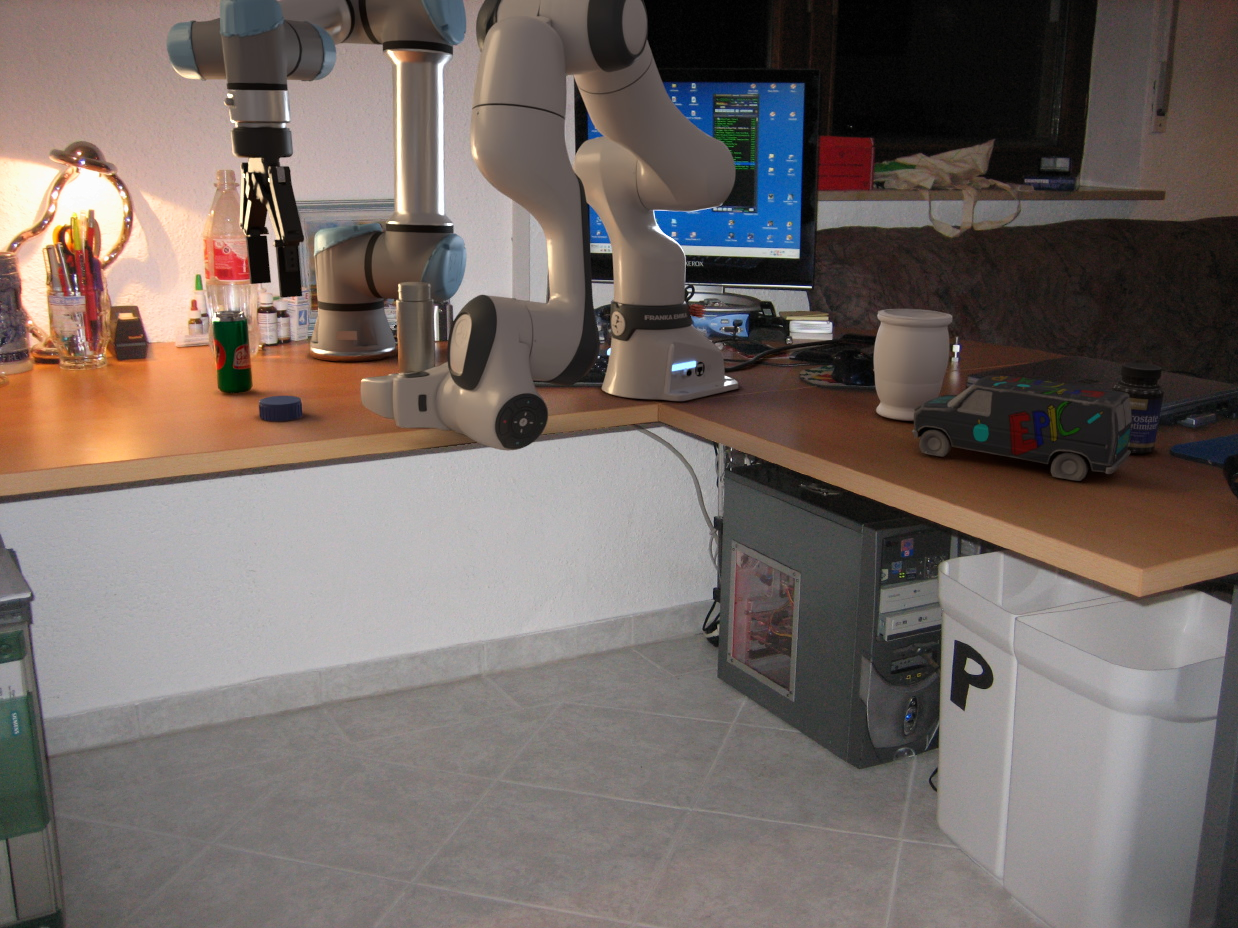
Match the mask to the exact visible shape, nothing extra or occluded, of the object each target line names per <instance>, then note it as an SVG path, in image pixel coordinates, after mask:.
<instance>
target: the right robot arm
mask: <svg viewBox="0 0 1238 928" xmlns="http://www.w3.org/2000/svg"><path fill="white" fill-rule="evenodd" d="M475 34H476V41H477V46H478V48H479V52H480V56H479V60H478V65H477V70H476V75H475V80H474V87H473V93H472V104H471V115H470V129H469V141H470V142H469V143H470V152H471V157H472V160H473V162H474V165H475V166H476V167H477V169H478V171H479V173H480V174H481V176H483V178H484V179H485V181H487V182H488V183H489V184H490V185H491V186H492V187H493V188H494V189H495V190H497V191H498V192H499V193H501V194H502V195H504V196H505V197H507V198H508V199H510V200H511V201H513V202H514V203H516V204H518V205H519V206H521V208H523V209H524V210H525V211H527V212H528V213H529V214H530V215H531V216H532V217H533V218H534V219H535V220H536V221H537V223H538V225H539V226H540V227H541V229H542V231H543V233H544V237H545V241H546V256H547V270H548V271H547V273H548V287H549V289H548V290H549V299H548V302H541V301H534V300H525V299H518V298H514V297H506V296H497V295H487V294H478V295H476V296H474V297H473V298H472V299H470V300H469V301H468V302H467V303H466V304H465V305H464V306H462V308H461V309H460V310H459V312H458V313H457V315H456V316H455V318H454V319H453V321H452V323H451V325H450V329H449V333H448V339H447V347H446V350H447V351H446V362H444V363H442V364H441V365H437V366H436V365H435V367H433V368H430V369H428V370H425V371H420V372H414V373H405V374H400V373H399V372H394V373H388V375H378V376H368V377H367V376H366V377H363V378H362V379H361V380H360V387H359V388H360V400H361V405H362V406H363V407H364V408H365V409H366V410H368V411H370V412H371V413H373V414H375V415H377V416H379V417H382V418H384V419H388V420H394V423H395V426H396V427H398V428H400V429H435V430H442V431H446V432H452V431H453V432H455V433H457V434H460V435H463V436H466V437H467V438H468V439H470V440H472V441H474V442H476V443H479V444H481V445H483V446H487V447H489V448H492V449H495V450H500V451H507V452H508V451H518V450H521V449H523V448H526V447H528V446H530V445H532V444H533V443H534V442H536V441H537V440H538V439H539V438H540V437H541V435H542V434H543V432H544V430H545V429H546V427H547V424H548V420H549V409H548V406H547V403H546V401H545V399H544V398H543V396H541V394H540V393H539V391H538V389H537V387H536V384H535V382H536V381H537V382H541V383H545V384H551V385H556V386H562V387H571V386H573V385H575V384H577V383H578V382H580V381H581V380H582V379H583V378H584V377H585V376H587V375H588V373H589V372H590V371H591V370H592V369H593V368H594V366H595V364H596V362H597V360H598V358H599V354H600V350H601V349H600V348H601V346H600V345H601V339H600V331H599V327H598V322H597V317H596V311H595V308H594V298H593V297H594V296H593V295H594V294H593V279H592V261H591V245H590V243H591V242H590V228H589V225H590V224H589V214H588V213H589V212H588V205H589V206H590V207H591V208H592V209H593V210H594V212H595V213H596V214H597V216H598V217H599V219H600V221H601V223H602V224H603V227H604V228H605V231H606V233H607V236H608V239H609V243H610V247H611V253H612V267H613V269H612V271H613V272H612V273H613V299H612V300H611V301H610V315H609V316H610V317H609V323H610V334H611V340H610V348H608V349H607V351H606V355H607V356H608V362H607V367H606V371H605V376H604V379H603V382H602V385H601V391H603V392H605V393H606V394H609V395H613V396H617V397H622V398H629V399H637V400H639V399H640V400H663V401H669V402H685V401H686V402H687V401H691V400H695V399H699V398H704V397H707V396H712V395H716V394H721V393H725V392H730V391H734V390H737V389H739V387H740V386H739V382H738V381H737V380H736V379H734V378H732V377H730V376H727V375H726V373H728V372H734V371H738V370H742V369H743V368H746V367H749V366H751V365H754V364H756V362H757V361H759V360H761V359H764V358H765V357H767V356H769V355H772V354H776V353H779V352H784V351H789V350H795V349H801V348H810V347H819V346H827V345H835V344H834V343H836V344H839V343H838V342H842V341H843V340H844V339H843V338H836V339H825V340H818V341H810V342H800V343H795V344H789V345H783V346H782V345H781V346H778V347H774V348H771V349H768V350H765V351H763V352H761V353H759V354H757V355H755V356H754V357H751V359H749V360H746V361H744V362H741V363H739V364H736V365H733V366H730V367H729V366H727V367H725V359H724V355H723V352H722V350H721V348H719V346H717V345H716V344H715V342H713V341H711V340H710V339H709V338H708V337H707V336H706V335H705V334H703V333H702V332H701V331H700V330H699V329H697V328H696V327H695V326H694V325H693V324H694V321H693V318H692V317H696V318H699V319H702V318H703V317H704V315H706V312H707V310H706V307H705V305H703V304H698V303H692V304H691V305H690V304H689V303H688V302H686V301H685V298H686V297H685V295H686V269H687V268H686V266H687V258H686V254H685V252H684V250H683V248H682V246H681V245H680V244H679V243H678V242H677V241H676V240H675V239H673V238H672V237H671V236H668V235H667V234H666V233H664V232H663V231H662V230H661V227H660V226H659V224H658V223H657V220H656V216H655V211H662V212H663V211H664V212H665V211H666V212H685V213H687V212H691V213H692V212H698V211H703V210H707V209H708V210H709V209H714V208H718V207H720V206H722V205H723V204H724V203H725V201H726V200H727V199H728V198H729V196H730V194H731V193H732V191H733V188H734V185H735V182H736V164H735V159H734V157H733V155H732V152H731V151H730V149H729V147H728V146H727V145H726V144H725V142H723V141H721V140H720V139H717V138H716V137H713V136H711V135H710V134H707V133H706V132H704V131H703V130H702V129H700V128H698V126H696V125H695V124H694V123H692V122H691V120H689V119H688V117H686V116H685V115H684V114H683V113H682V111H681V110H680V109H679V108H678V107H677V106H676V104H675V103H674V102H673V100H672V99H671V98H670V96H669V94H668V93H667V89H666V88H665V85H664V82H663V80H662V78H661V77H662V76H661V75H660V72H659V70H658V66H657V64H656V61H655V58H654V55H653V53H652V52H653V51H652V49H651V47H650V44H649V40H648V35H649V19H648V11H647V7H646V4H645V1H644V0H484V1H483V2H482V4H481V6H480V8H479V10H478V13H477V16H476V21H475ZM568 76H573V78H574V81H575V83H576V87H577V88H578V91H579V93H580V96H581V98H582V101H583V103H584V106H585V108H586V112H587V113H588V115H589V118H590V120H591V123H592V124H593V126H594V128H595V129H596V130H597V131H598V132H599V133H600V134H601V135H602V136H598V137H594V138H591V139H587V140H585V141H583V143H582V144H581V145H580V147H579V148H578V149H577V152H576V154H575V156H574V159H573V162H572V163H571V160H570V156H569V152H568V148H567V142H566V141H567V140H566V118H567V117H566V116H567V93H568V92H567V91H568V89H567V77H568ZM534 381H535V382H534Z"/></svg>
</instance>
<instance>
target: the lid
mask: <svg viewBox="0 0 1238 928" xmlns="http://www.w3.org/2000/svg"><path fill="white" fill-rule="evenodd" d="M258 413H259V418H260V420H263V421H265V422H266V421H268V422H287V421H293V420H298V419H300V418H302V417H303V402H302V398H301V397H298V396H295V395H273V396H266V397H263V398H261V399H259V401H258Z"/></svg>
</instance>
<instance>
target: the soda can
mask: <svg viewBox="0 0 1238 928" xmlns="http://www.w3.org/2000/svg"><path fill="white" fill-rule="evenodd" d="M248 320H249V319H248V317H247V316H246V315H245V311H243V310H219V311H215V312H214V313H213V317H212V319H211V325H212V327H211V328H212V338H213V348H214V349H213V351H214V359H215V360H214V361H215V372H216V382H217V384H216V385H217V389H218V390H219V391H220V392H221V393H224V394H229V395H231V394H233V395H234V394H243V393H248V392H250V391H251V390H252V388H253V386H254V383H253V373H252V370H253V369H252V358H251V347H250V334H249V333H250V331H249V321H248Z"/></svg>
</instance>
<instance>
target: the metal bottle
mask: <svg viewBox="0 0 1238 928" xmlns="http://www.w3.org/2000/svg"><path fill="white" fill-rule="evenodd" d="M398 287H399V290H398V292H399V299H395V309H396V310H395V311H396V312H395V313H396V322H397V328H396V331H397V333H396V337H397V338H396V339H397V360H398V373H400V374H405V373H414V372H420V371H425V370H428V369H430V368H433V367H436V337H435V336H436V335H435V308H434V307H435V306H434V305H435V303H434V302H435V301H433V299H432V298H430V288H431V285H430V283H426V282H403V283H399V284H398Z"/></svg>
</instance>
